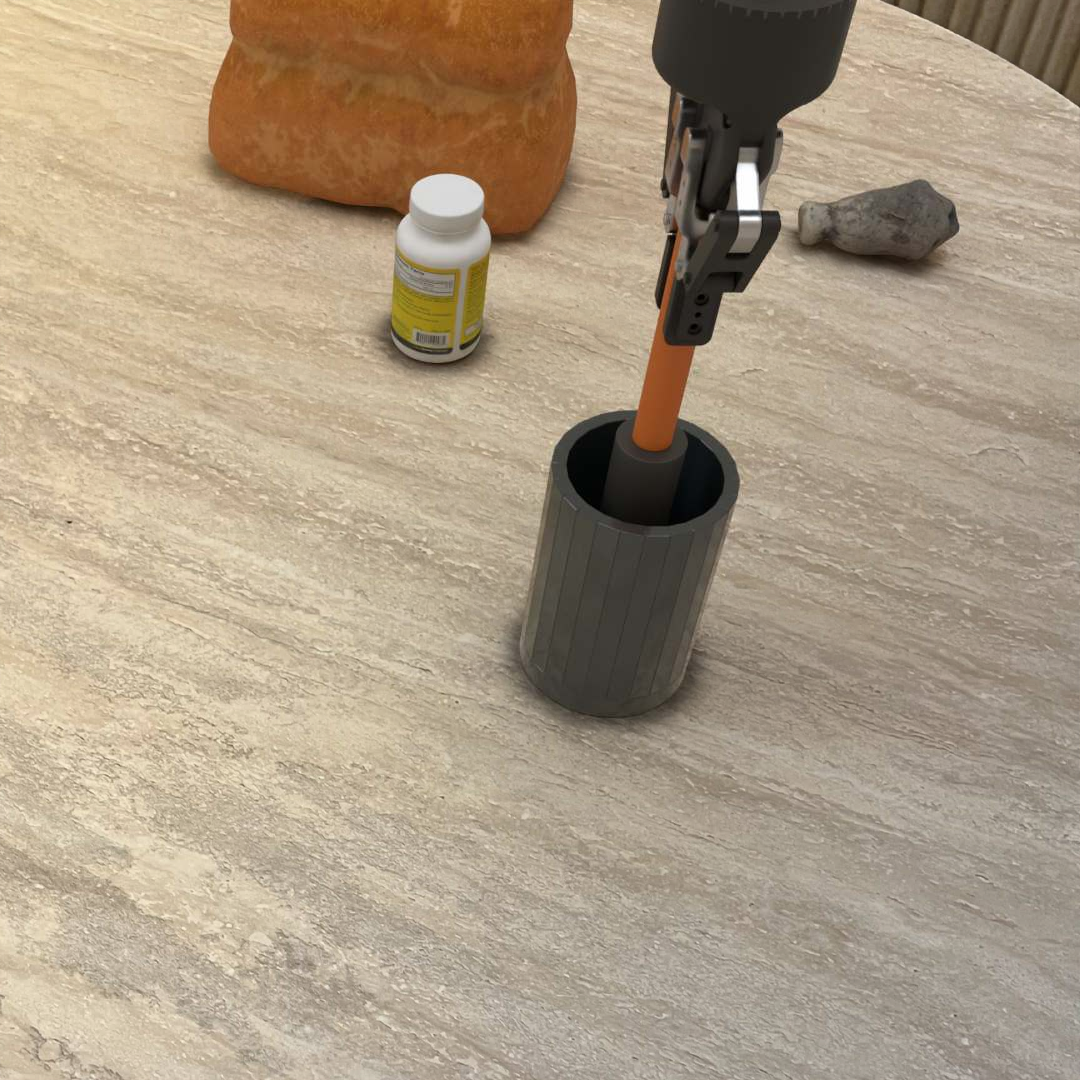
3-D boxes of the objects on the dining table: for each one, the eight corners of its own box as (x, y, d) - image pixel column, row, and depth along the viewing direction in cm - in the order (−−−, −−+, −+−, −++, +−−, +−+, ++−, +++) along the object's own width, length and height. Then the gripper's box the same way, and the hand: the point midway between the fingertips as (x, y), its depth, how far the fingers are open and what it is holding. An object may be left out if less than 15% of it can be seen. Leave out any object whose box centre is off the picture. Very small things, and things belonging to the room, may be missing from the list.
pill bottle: (455, 301, 118) (470, 157, 109) (495, 353, 115) (514, 209, 106) (374, 322, 117) (383, 178, 108) (412, 375, 113) (425, 231, 104)
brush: (653, 529, 93) (734, 207, 77) (662, 576, 91) (747, 255, 75) (587, 529, 93) (655, 207, 77) (595, 576, 91) (666, 255, 75)
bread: (531, 257, 121) (565, 24, 108) (192, 182, 127) (183, -50, 113) (585, 142, 130) (623, -87, 116) (266, 76, 136) (266, -150, 122)
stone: (780, 259, 123) (851, 242, 115) (788, 181, 122) (860, 158, 115) (893, 275, 126) (969, 259, 119) (901, 199, 125) (978, 178, 118)
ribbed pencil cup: (672, 594, 101) (723, 409, 90) (697, 717, 95) (754, 536, 84) (512, 594, 101) (542, 409, 90) (527, 717, 95) (562, 536, 84)
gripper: (904, 49, 62) (787, 420, 76) (828, -127, 70) (735, 236, 84) (699, 48, 62) (619, 420, 76) (647, -129, 70) (584, 235, 84)
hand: (681, 322), depth 80 cm, fingers closed on brush, 2 cm apart
